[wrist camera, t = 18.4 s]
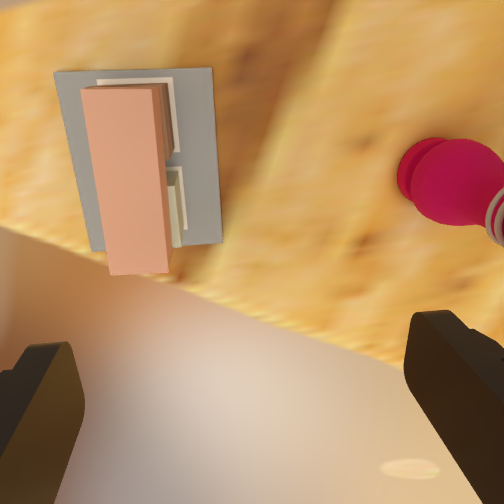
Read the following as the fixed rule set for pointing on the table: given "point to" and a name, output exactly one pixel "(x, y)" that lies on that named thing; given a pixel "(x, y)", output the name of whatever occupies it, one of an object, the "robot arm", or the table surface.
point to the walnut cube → (165, 113)
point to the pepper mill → (455, 183)
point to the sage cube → (175, 208)
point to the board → (182, 160)
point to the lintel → (130, 177)
